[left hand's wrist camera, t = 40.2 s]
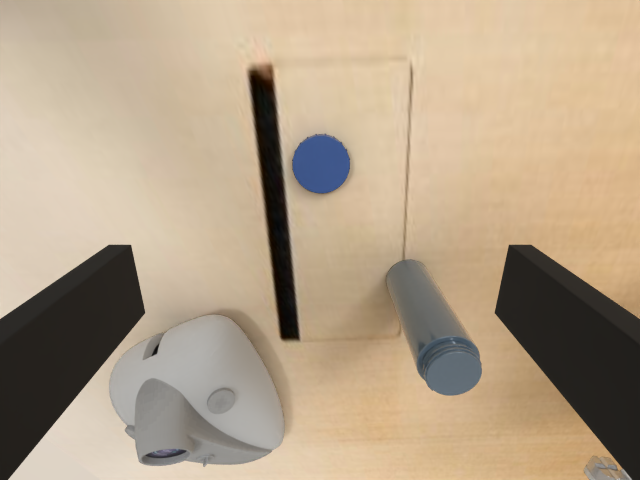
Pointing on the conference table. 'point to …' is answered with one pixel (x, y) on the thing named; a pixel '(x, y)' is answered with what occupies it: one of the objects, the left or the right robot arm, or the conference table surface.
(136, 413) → the projector
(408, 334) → the jar
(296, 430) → the conference table surface
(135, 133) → the conference table surface
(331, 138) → the lid
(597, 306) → the left robot arm
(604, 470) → the right robot arm
